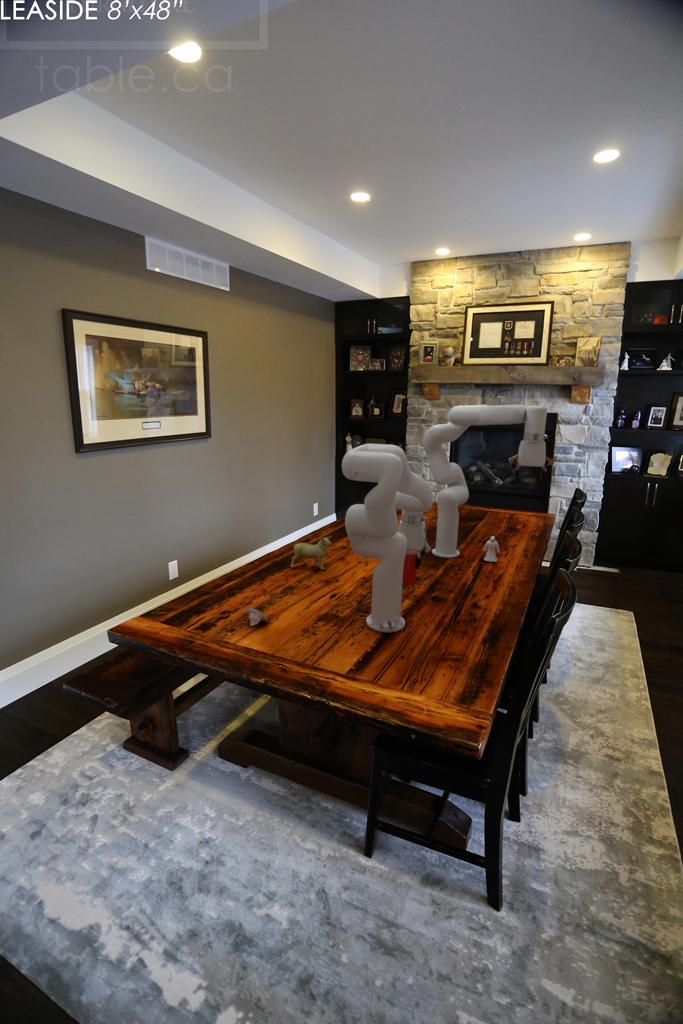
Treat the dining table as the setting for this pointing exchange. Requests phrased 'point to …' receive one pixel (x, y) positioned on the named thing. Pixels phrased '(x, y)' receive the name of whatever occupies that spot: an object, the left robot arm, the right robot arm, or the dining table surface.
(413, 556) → the tin
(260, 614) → the seashell
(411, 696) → the dining table surface
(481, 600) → the dining table surface
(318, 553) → the toy
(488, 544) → the figurine
